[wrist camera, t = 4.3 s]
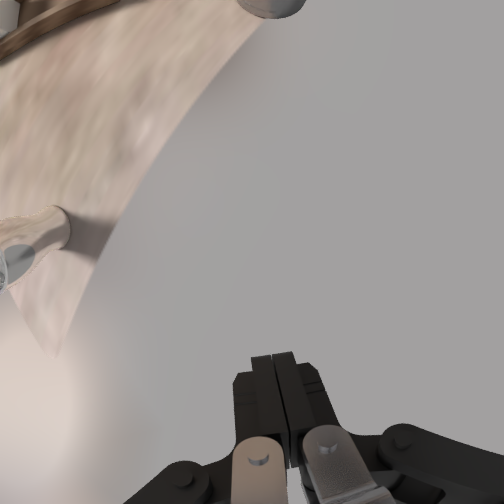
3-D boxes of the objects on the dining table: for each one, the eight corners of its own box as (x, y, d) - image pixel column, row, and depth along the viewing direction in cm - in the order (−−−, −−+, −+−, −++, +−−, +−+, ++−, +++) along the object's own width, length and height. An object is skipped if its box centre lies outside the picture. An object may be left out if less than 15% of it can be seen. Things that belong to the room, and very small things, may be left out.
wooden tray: (-12, 68, 24) (-26, 64, 21) (-7, 22, 21) (-19, 16, 17) (119, 1, 25) (110, -12, 22) (119, -43, 22) (112, -56, 18)
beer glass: (75, 252, 35) (15, 302, 21) (37, 250, 35) (-27, 294, 20) (72, 201, 33) (2, 230, 19) (33, 202, 33) (-39, 229, 18)
